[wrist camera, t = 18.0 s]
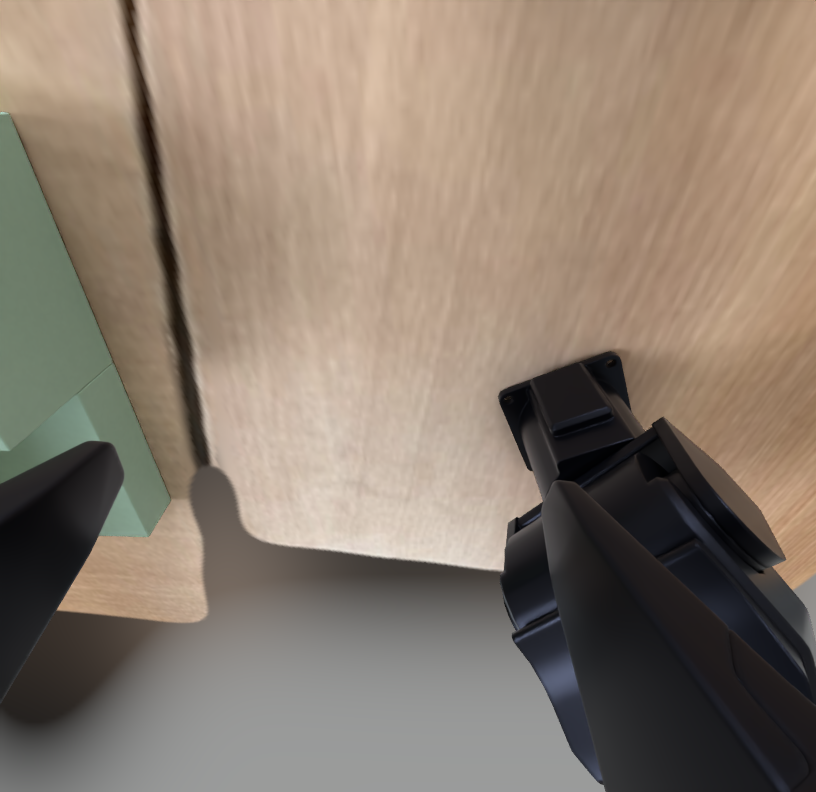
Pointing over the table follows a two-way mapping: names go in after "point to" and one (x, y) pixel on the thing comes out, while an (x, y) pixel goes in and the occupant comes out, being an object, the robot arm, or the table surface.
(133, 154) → the table surface
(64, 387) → the step shelf
